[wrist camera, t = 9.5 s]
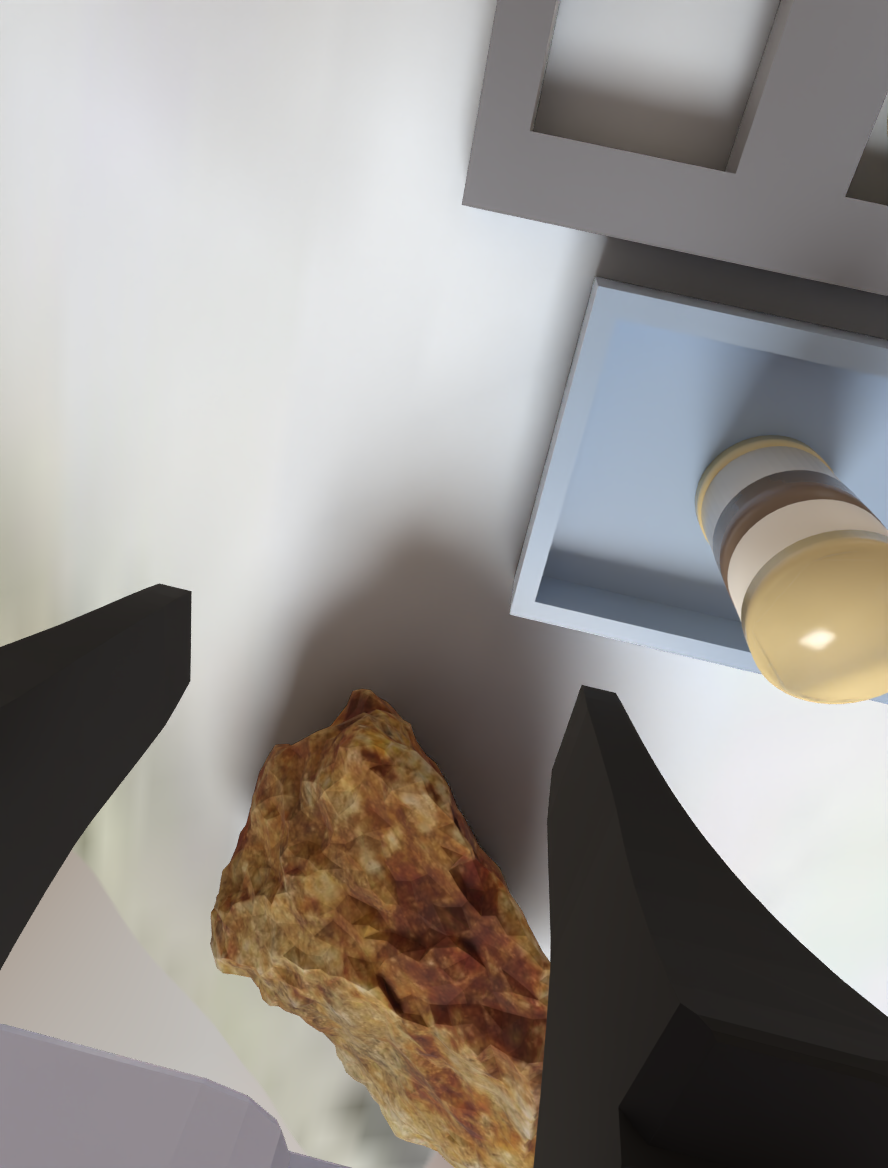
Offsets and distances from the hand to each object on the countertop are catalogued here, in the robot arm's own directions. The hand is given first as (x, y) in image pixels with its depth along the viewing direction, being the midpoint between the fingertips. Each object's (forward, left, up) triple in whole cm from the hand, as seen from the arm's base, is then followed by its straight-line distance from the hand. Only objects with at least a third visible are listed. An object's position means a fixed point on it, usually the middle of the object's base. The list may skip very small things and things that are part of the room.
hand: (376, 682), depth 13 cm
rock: (-1, +15, -10) cm, 18 cm away
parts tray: (-9, -2, -10) cm, 13 cm away
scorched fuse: (-8, -2, -9) cm, 13 cm away
